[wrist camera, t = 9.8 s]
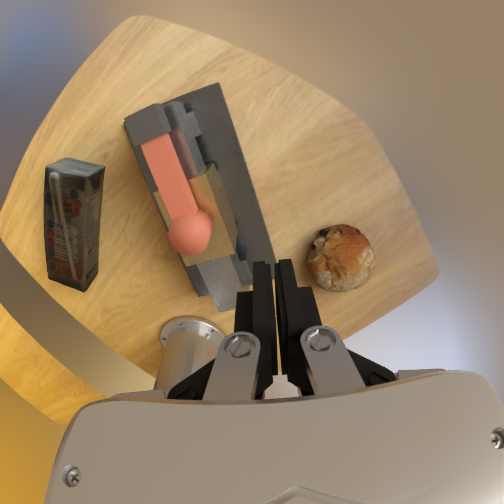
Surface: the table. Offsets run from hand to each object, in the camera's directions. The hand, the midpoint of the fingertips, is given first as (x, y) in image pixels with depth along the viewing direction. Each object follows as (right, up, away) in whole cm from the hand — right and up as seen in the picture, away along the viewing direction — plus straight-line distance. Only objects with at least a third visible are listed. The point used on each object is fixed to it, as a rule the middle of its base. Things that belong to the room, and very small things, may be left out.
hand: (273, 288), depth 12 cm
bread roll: (+12, +2, +28) cm, 31 cm away
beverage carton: (-28, +7, +25) cm, 38 cm away
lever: (-9, +9, +14) cm, 19 cm away
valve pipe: (-7, +8, +24) cm, 26 cm away
